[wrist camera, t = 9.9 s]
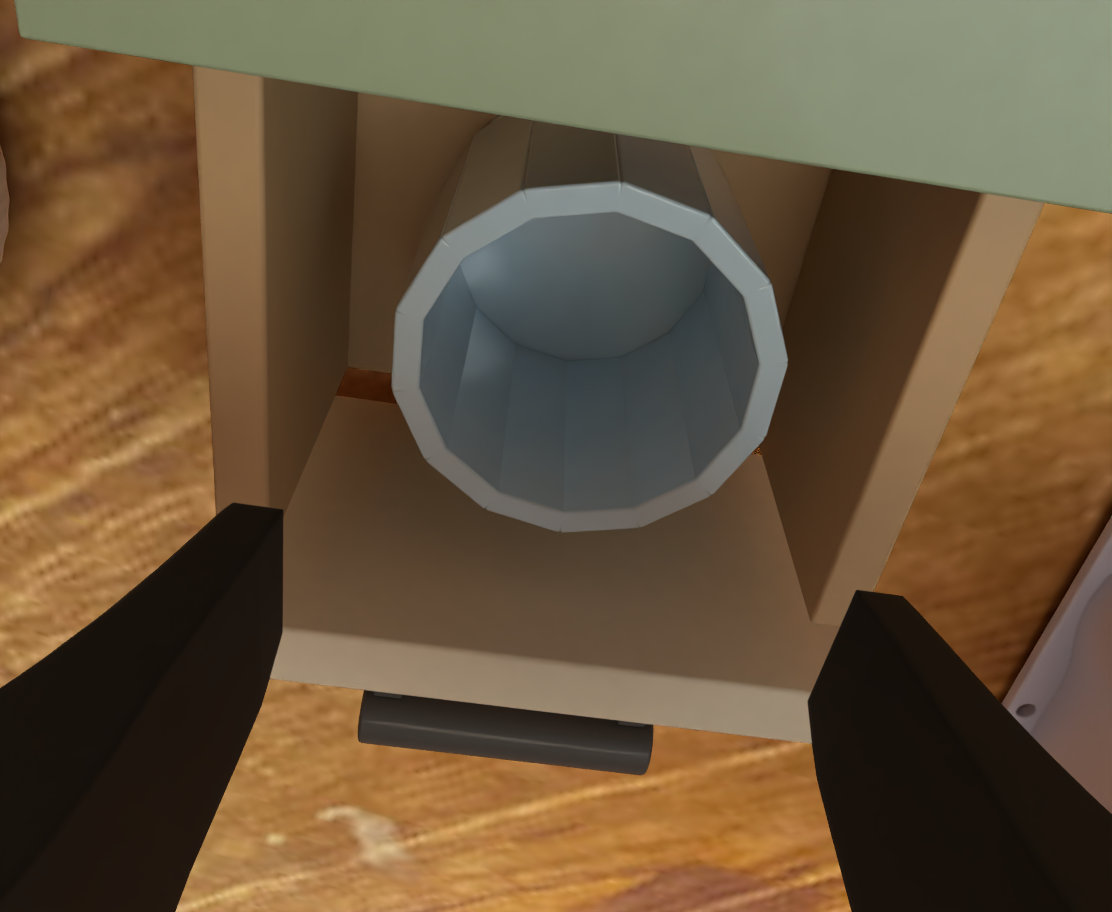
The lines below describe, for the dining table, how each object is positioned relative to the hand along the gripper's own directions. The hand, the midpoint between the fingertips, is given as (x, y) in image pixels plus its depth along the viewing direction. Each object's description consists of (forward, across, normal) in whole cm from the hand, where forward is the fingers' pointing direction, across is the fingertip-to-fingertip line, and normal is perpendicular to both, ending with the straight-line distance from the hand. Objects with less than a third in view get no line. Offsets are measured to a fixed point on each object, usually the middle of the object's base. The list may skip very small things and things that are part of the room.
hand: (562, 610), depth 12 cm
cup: (+8, 0, -2) cm, 8 cm away
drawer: (+9, 0, 0) cm, 9 cm away
